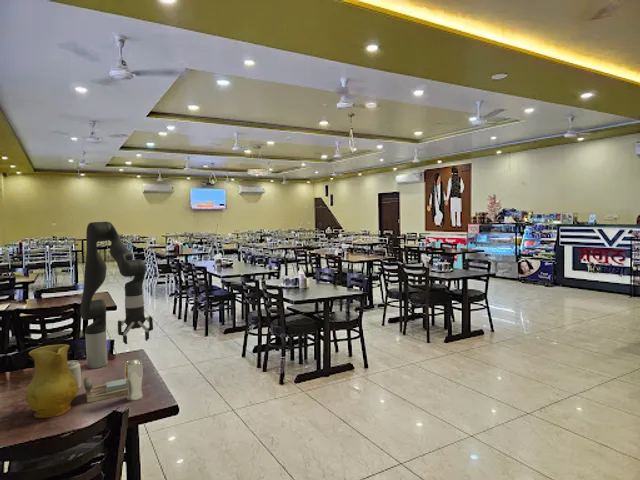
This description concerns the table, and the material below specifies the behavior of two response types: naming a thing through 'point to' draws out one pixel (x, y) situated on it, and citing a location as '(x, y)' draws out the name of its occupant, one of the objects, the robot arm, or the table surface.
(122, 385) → the pale teal block
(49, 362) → the pitcher
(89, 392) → the bay
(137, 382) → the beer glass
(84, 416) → the table surface
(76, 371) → the can
